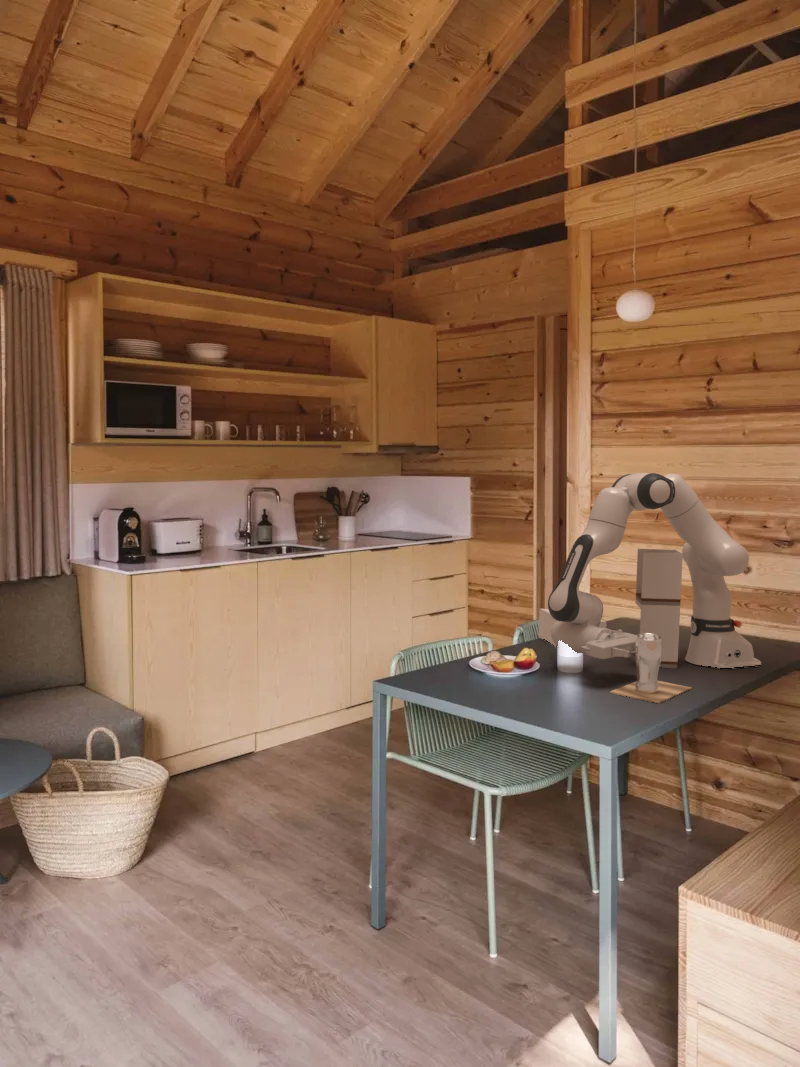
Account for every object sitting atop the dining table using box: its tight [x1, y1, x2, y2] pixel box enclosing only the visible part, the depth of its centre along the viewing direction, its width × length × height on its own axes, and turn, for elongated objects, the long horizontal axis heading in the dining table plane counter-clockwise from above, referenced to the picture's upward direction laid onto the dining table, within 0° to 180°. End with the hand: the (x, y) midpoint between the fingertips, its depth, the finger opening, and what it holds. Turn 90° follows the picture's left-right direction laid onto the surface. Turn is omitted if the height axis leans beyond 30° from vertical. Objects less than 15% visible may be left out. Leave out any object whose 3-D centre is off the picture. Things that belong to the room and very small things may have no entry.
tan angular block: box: [538, 608, 607, 648], centre depth 294 cm, size 14×29×10 cm, turn 39°
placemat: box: [609, 680, 693, 705], centre depth 237 cm, size 20×14×1 cm
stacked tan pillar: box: [632, 548, 684, 669], centre depth 268 cm, size 11×11×35 cm
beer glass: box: [635, 632, 662, 693], centre depth 235 cm, size 7×7×15 cm
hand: (640, 652), depth 240 cm, fingers open, 8 cm apart
